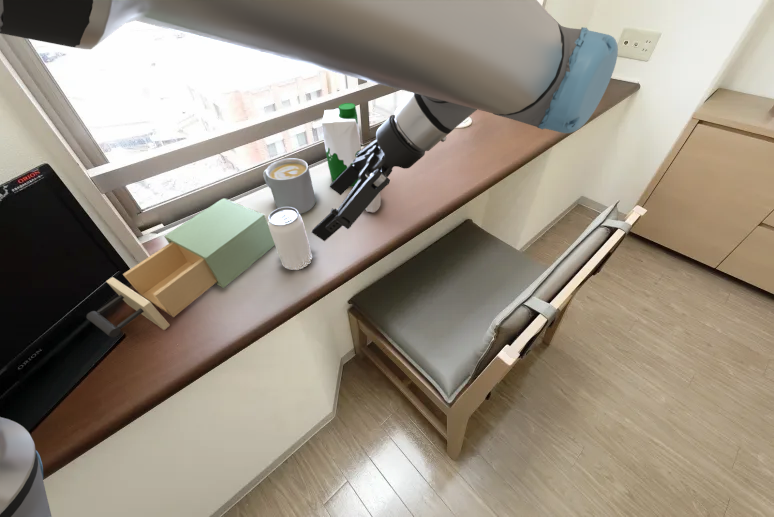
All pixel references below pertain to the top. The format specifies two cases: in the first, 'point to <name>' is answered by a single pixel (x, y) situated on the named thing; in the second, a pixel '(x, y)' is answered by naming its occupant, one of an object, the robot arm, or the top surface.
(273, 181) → the coffee mug
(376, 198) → the eye dropper bottle
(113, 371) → the top surface
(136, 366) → the top surface
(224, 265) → the cabinet
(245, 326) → the top surface
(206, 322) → the top surface
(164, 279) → the drawer
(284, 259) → the can
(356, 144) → the milk carton
